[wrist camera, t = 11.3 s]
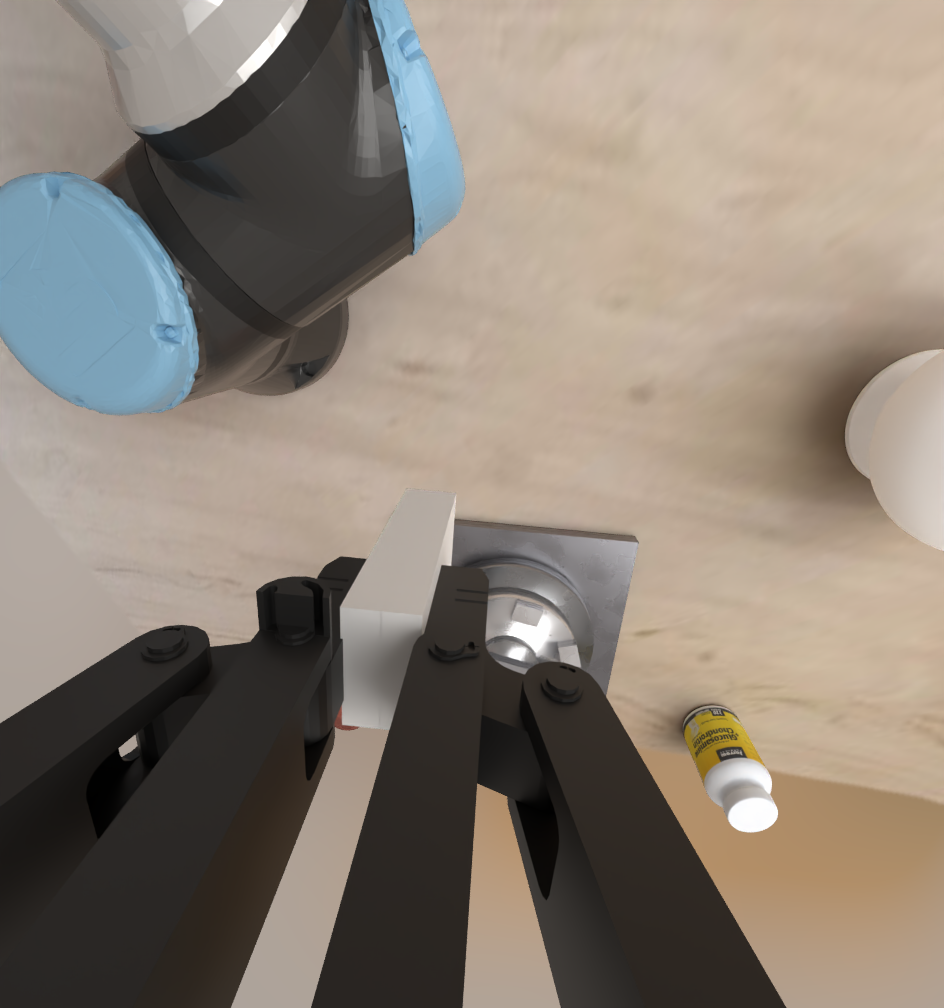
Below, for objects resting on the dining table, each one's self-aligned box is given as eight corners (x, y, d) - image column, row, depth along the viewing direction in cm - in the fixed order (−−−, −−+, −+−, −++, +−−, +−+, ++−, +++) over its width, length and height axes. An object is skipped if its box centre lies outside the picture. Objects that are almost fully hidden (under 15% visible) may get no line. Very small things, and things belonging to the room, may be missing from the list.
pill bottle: (734, 697, 58) (785, 785, 48) (740, 740, 61) (792, 833, 50) (676, 708, 59) (714, 796, 49) (685, 749, 62) (723, 843, 51)
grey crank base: (397, 698, 62) (390, 721, 58) (402, 514, 53) (395, 528, 49) (596, 719, 61) (602, 743, 57) (635, 536, 52) (644, 552, 49)
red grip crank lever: (600, 610, 51) (633, 718, 37) (551, 715, 56) (565, 843, 43) (386, 547, 50) (342, 634, 36) (356, 660, 55) (308, 773, 42)
